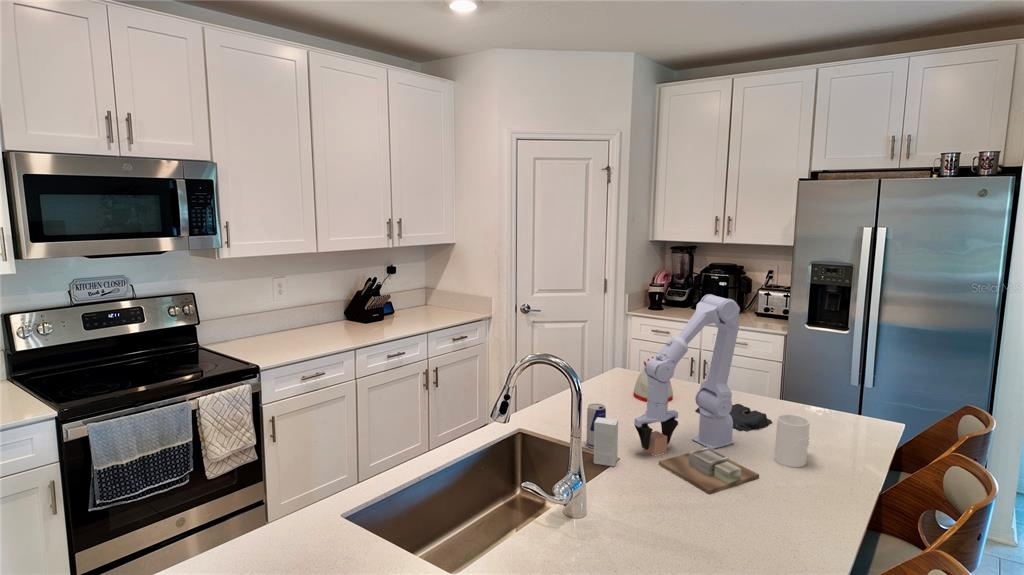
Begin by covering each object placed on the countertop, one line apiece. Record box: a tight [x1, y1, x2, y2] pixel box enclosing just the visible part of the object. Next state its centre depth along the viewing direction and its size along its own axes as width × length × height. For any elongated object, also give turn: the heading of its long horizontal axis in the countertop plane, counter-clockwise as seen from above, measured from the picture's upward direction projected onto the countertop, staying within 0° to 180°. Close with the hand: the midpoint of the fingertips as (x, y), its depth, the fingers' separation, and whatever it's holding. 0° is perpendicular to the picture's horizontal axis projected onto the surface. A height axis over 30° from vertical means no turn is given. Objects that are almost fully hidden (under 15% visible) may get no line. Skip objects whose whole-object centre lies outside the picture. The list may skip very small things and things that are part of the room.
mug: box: [774, 414, 810, 468], centre depth 162 cm, size 8×12×12 cm
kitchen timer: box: [633, 356, 674, 403], centre depth 212 cm, size 14×14×15 cm
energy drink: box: [586, 403, 607, 450], centre depth 170 cm, size 5×5×12 cm
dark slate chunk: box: [694, 403, 773, 433], centre depth 193 cm, size 15×22×5 cm
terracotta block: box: [643, 430, 668, 457], centre depth 167 cm, size 4×4×5 cm
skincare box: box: [593, 417, 619, 467], centre depth 160 cm, size 6×4×12 cm
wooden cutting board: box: [658, 447, 760, 495], centre depth 155 cm, size 18×18×5 cm
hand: (655, 445), depth 167 cm, fingers open, 7 cm apart
